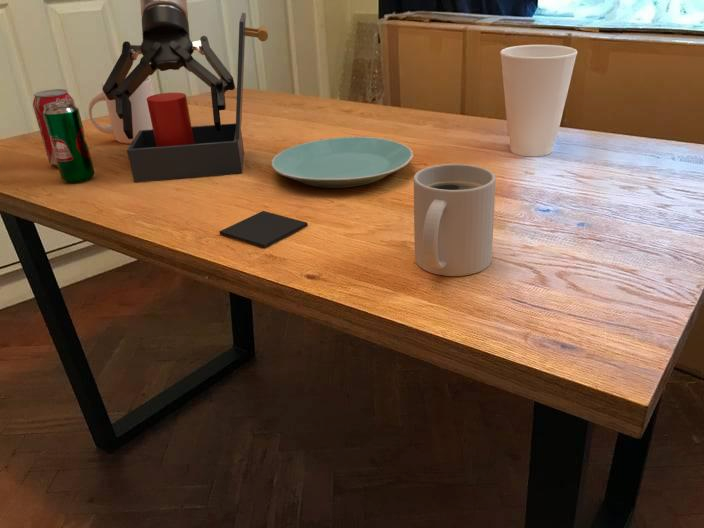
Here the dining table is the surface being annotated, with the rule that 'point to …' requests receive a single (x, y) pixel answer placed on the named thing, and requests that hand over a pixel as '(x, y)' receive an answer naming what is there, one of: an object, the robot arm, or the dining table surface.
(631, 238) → the dining table surface
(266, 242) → the rubber mat
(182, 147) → the dark grey open box
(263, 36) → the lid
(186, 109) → the red cylinder
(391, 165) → the plate
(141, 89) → the mug
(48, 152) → the beverage can
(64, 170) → the soda can
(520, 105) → the cup
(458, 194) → the mug
